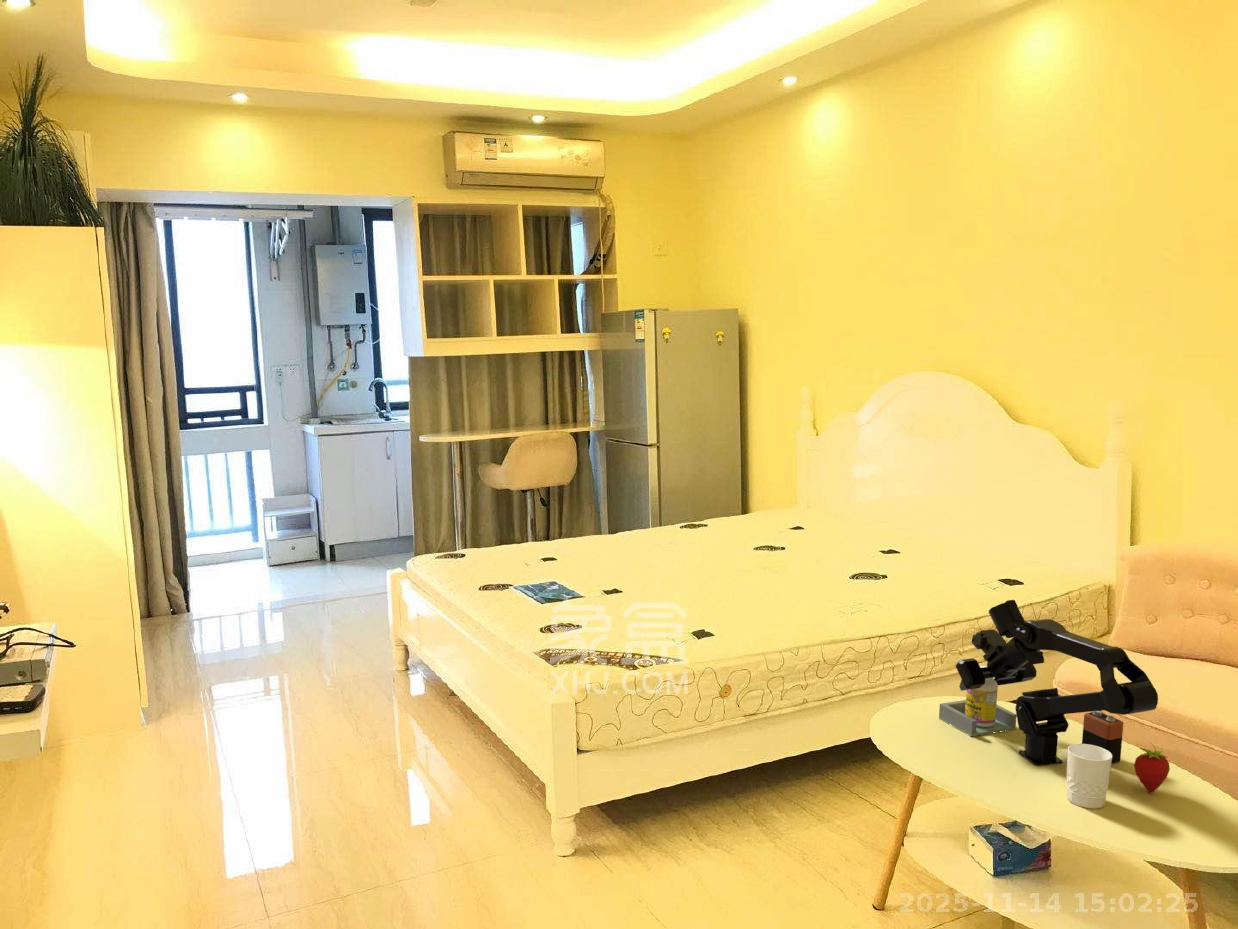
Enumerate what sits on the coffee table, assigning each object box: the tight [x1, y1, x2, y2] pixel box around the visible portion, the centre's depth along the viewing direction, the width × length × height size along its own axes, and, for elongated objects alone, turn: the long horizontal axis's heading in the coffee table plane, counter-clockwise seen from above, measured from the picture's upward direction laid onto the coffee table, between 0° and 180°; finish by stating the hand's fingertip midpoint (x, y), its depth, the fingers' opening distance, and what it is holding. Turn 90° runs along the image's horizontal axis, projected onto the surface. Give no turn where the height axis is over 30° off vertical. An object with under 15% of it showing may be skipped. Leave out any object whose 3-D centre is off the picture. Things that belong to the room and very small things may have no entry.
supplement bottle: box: [965, 665, 999, 727], centre depth 234 cm, size 7×7×13 cm
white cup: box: [1066, 743, 1112, 810], centre depth 198 cm, size 8×8×10 cm
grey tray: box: [938, 699, 1017, 737], centre depth 235 cm, size 11×12×4 cm
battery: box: [1081, 710, 1124, 765], centre depth 217 cm, size 4×7×10 cm, turn 24°
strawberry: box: [1133, 742, 1171, 794], centre depth 202 cm, size 6×8×10 cm
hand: (977, 686), depth 235 cm, fingers open, 9 cm apart
